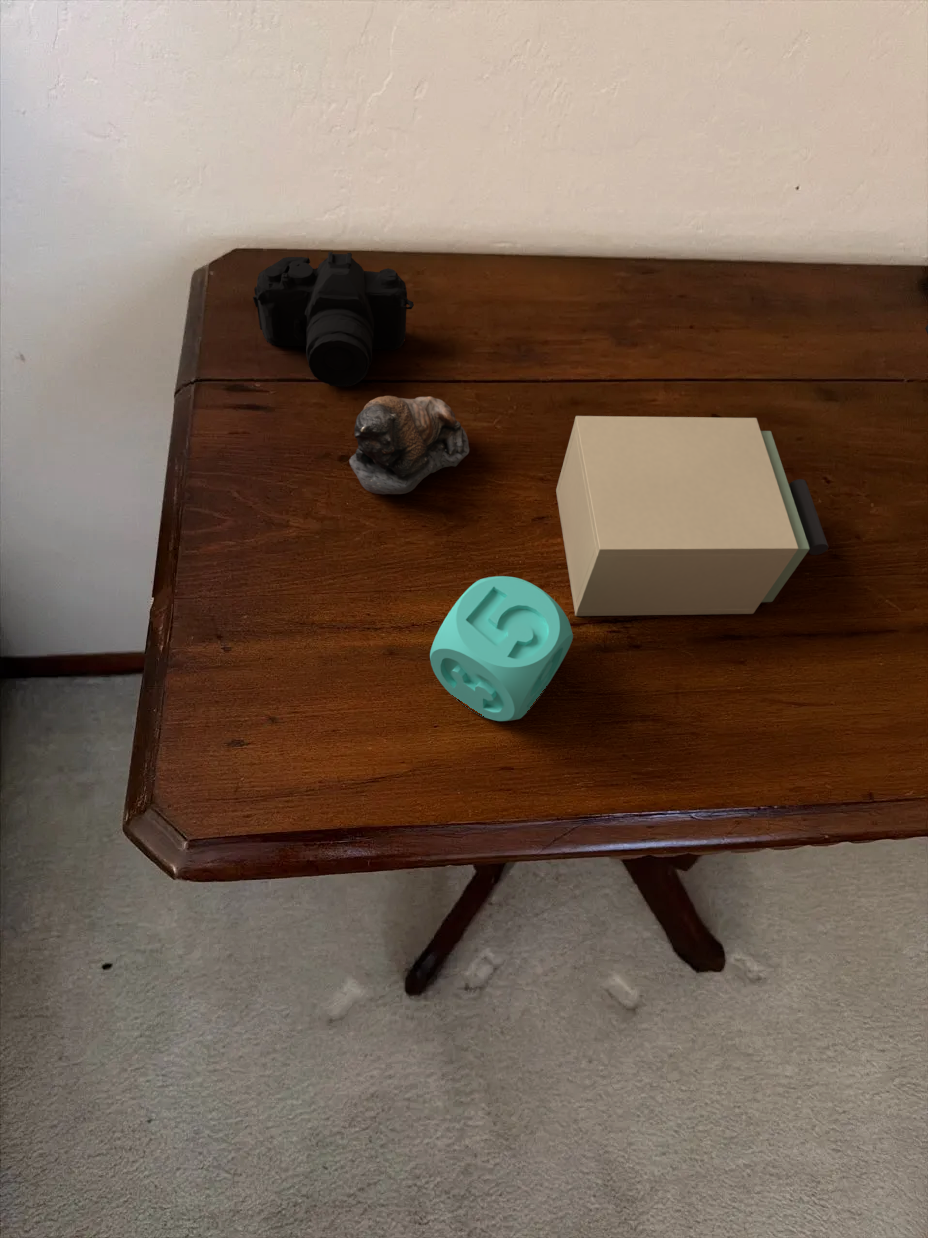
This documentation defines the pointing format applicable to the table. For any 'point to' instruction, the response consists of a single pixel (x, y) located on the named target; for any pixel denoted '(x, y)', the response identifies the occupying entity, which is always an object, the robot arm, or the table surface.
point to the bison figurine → (405, 442)
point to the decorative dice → (500, 646)
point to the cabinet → (671, 516)
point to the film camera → (332, 313)
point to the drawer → (795, 517)
